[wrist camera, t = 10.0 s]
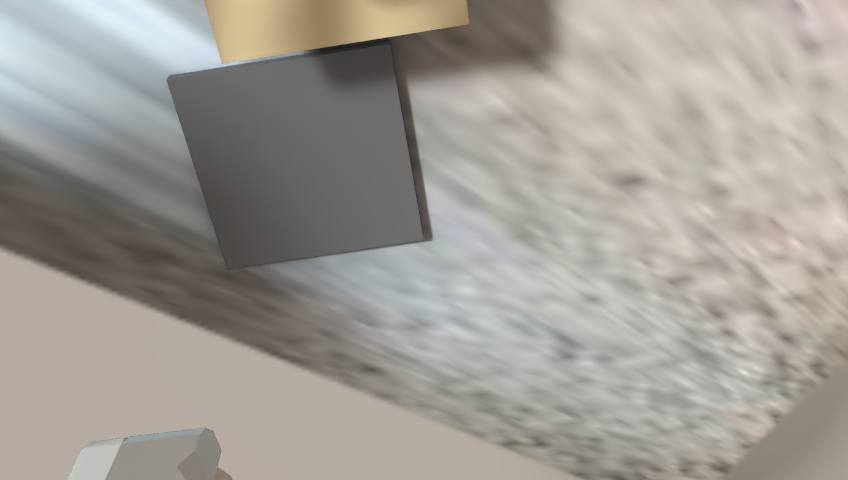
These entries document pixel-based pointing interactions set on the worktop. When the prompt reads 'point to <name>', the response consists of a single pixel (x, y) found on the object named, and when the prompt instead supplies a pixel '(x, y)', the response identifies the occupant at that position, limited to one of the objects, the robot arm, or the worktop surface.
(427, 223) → the worktop surface
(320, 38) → the lid
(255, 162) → the mat
